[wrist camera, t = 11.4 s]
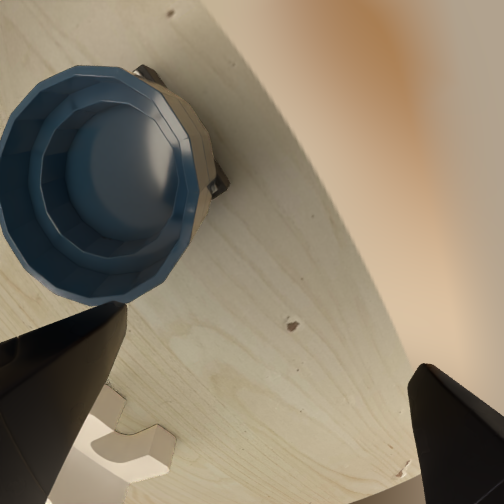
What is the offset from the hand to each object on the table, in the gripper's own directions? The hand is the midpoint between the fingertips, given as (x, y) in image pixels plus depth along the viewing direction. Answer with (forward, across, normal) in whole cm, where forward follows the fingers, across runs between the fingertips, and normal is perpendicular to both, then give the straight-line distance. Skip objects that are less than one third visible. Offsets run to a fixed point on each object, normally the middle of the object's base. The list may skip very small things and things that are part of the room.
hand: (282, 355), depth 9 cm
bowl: (+8, +8, -2) cm, 12 cm away
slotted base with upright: (+11, +12, +25) cm, 30 cm away
